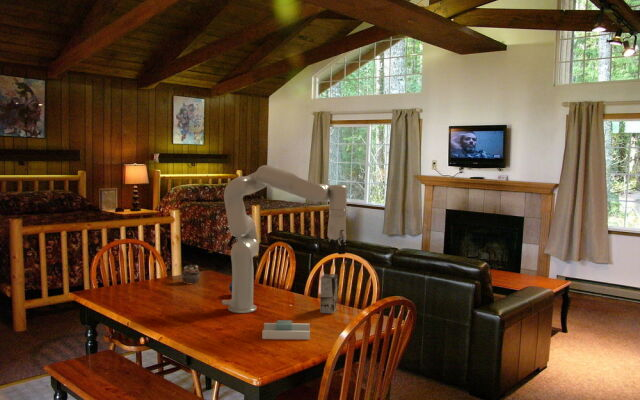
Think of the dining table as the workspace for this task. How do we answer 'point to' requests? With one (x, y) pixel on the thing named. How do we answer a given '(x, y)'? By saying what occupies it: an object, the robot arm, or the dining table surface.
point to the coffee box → (328, 293)
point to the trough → (286, 332)
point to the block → (284, 325)
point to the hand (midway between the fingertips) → (336, 252)
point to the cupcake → (190, 274)
